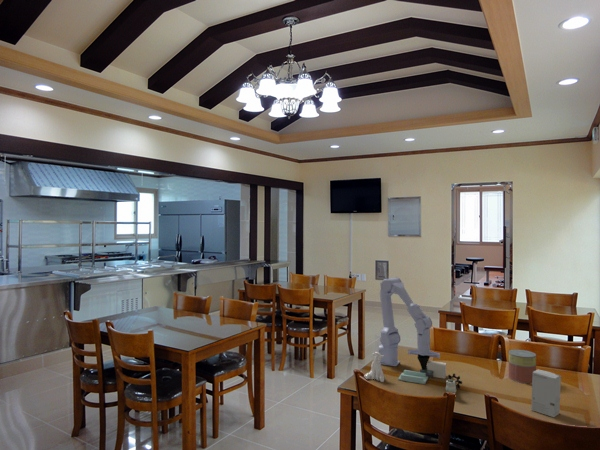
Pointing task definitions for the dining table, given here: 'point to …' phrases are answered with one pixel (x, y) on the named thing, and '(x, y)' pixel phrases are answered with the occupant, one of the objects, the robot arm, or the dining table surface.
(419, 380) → the cradle
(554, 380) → the skincare box
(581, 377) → the dining table surface
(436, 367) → the white block
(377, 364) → the sitting furry creature
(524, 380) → the canned food
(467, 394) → the dining table surface
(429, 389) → the dining table surface
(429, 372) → the channel
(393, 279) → the robot arm
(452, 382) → the valve
